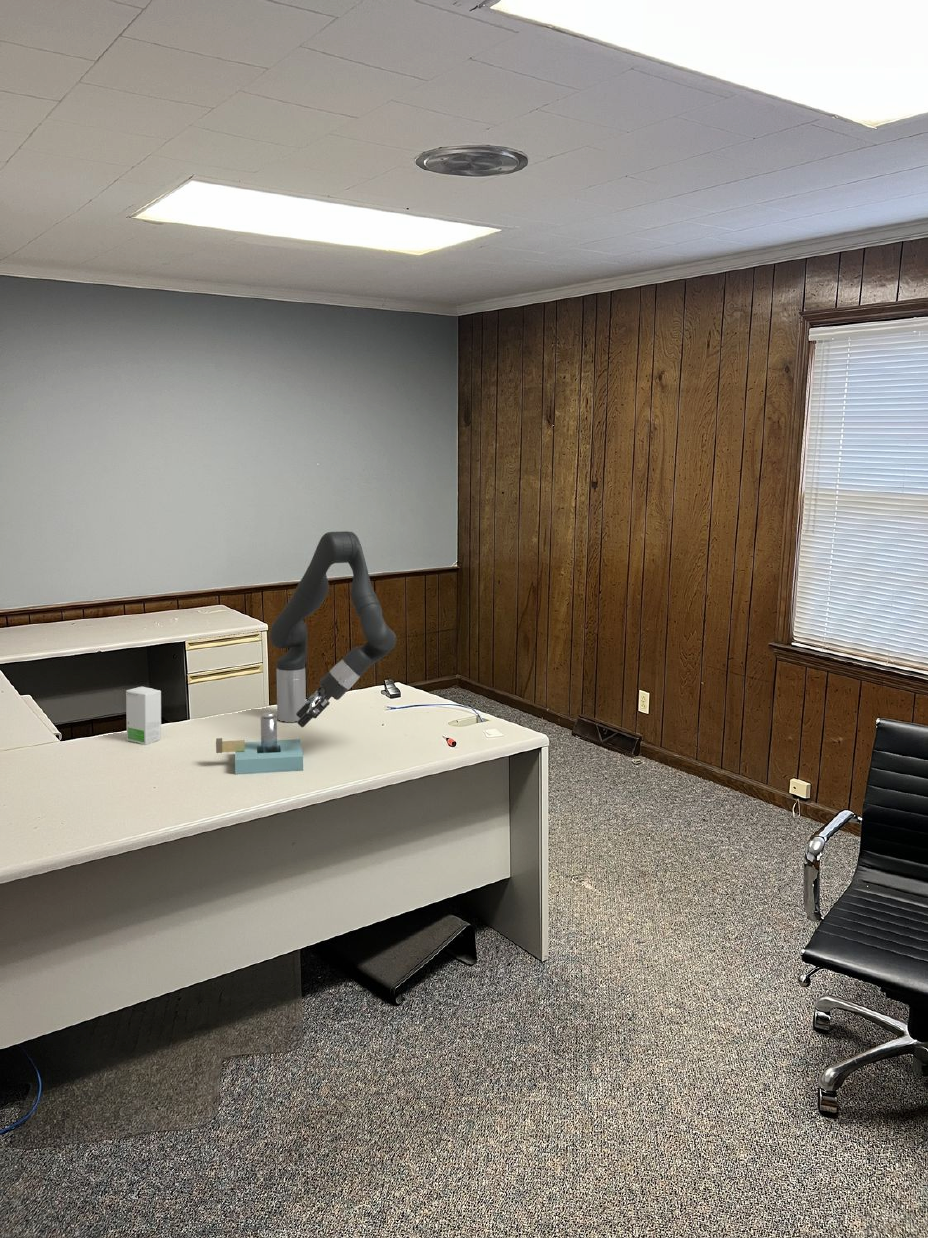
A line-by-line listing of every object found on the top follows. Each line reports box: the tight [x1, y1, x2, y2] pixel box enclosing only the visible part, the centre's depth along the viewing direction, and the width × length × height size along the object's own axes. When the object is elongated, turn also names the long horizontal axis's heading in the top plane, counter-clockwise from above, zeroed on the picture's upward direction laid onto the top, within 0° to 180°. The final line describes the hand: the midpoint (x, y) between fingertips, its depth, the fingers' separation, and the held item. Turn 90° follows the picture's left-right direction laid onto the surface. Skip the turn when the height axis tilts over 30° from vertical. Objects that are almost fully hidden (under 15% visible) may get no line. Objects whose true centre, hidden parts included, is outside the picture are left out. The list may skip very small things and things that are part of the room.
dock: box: [234, 738, 304, 775], centre depth 253 cm, size 16×18×4 cm
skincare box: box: [125, 686, 162, 746], centre depth 271 cm, size 8×7×16 cm
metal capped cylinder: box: [260, 711, 278, 753], centre depth 252 cm, size 4×4×13 cm
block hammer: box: [215, 737, 246, 754], centre depth 250 cm, size 3×8×3 cm, turn 103°
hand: (298, 720), depth 253 cm, fingers open, 8 cm apart
